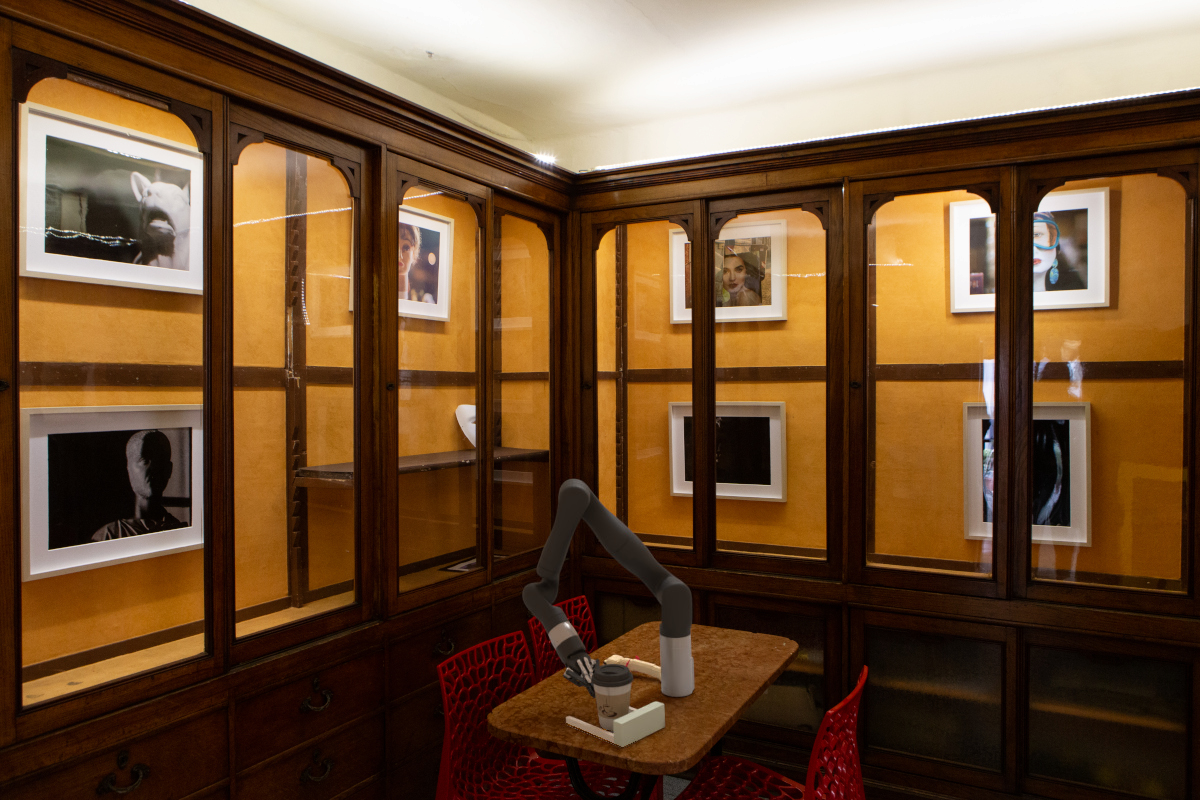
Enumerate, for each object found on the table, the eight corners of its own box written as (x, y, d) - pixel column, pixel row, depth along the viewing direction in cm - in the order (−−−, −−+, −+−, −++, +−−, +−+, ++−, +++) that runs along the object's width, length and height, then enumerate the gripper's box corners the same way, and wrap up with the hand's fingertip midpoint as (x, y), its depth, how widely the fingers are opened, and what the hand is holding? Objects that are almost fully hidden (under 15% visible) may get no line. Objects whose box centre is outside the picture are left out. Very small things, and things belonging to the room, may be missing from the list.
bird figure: (680, 681, 236) (611, 662, 249) (681, 654, 236) (612, 636, 249) (666, 692, 228) (596, 672, 241) (667, 664, 227) (597, 645, 240)
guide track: (608, 705, 215) (608, 684, 216) (665, 726, 201) (664, 704, 201) (566, 724, 204) (565, 702, 204) (622, 748, 189) (621, 724, 189)
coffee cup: (586, 732, 199) (584, 675, 199) (600, 715, 209) (598, 660, 209) (628, 737, 195) (626, 679, 195) (640, 719, 206) (638, 664, 206)
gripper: (554, 640, 209) (586, 696, 200) (589, 629, 218) (621, 682, 209) (543, 655, 213) (573, 710, 204) (577, 643, 222) (608, 696, 213)
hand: (597, 696), depth 207 cm, fingers closed
